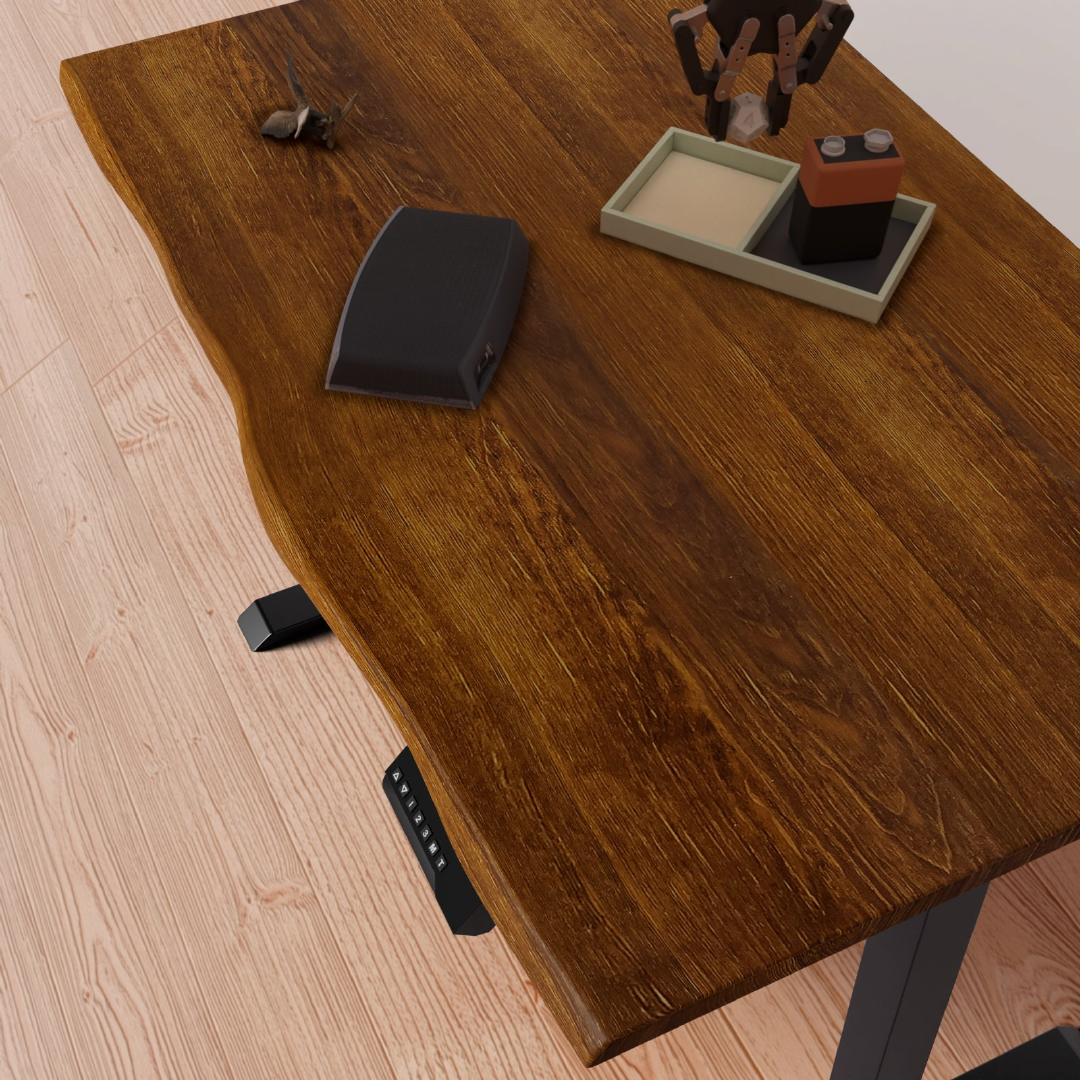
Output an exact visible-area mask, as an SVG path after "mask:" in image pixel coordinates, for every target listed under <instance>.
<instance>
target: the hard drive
mask: <svg viewBox="0 0 1080 1080" xmlns="http://www.w3.org/2000/svg"><path fill="white" fill-rule="evenodd" d="M529 258H530V243H529V241H528V239H527V236H526V234H525V233H524V231H523V229H522V228H521V226H520V224H519V223H518V222H517V220H516V219H515V218H512V217H499V216H490V215H481V214H480V215H479V214H471V213H463V212H454V211H445V210H438V209H429V208H418V207H411V206H406V205H405V206H404V205H399V206H398V207H397V208H396V209H395V210H394V212H393V213H392V214H391V215H390V216H389V218H388V219H387V221H386V222H385V223H384V224H383V226H382V227H381V229H380V230H379V232H378V233H377V235H376V236H375V238H374V240H373V242H372V243H371V244H370V246H369V248H368V250H367V252H366V253H365V256H364V258H363V259H362V261H361V264H360V266H359V267H358V270H357V271H356V274H355V277H354V279H353V282H352V284H351V286H350V289H349V292H348V294H347V297H346V301H345V303H344V306H343V310H342V313H341V315H340V319H339V323H338V326H337V331H336V334H335V337H334V342H333V346H332V350H331V354H330V359H329V363H328V364H329V365H328V367H327V373H326V379H325V385H324V390H327V391H333V392H339V393H340V392H341V393H348V394H355V395H362V396H369V397H376V398H377V397H378V398H385V399H391V400H398V401H407V402H414V403H420V404H426V405H427V404H429V405H436V406H443V407H451V408H459V409H465V410H472V411H476V410H477V408H478V406H480V404H481V402H482V401H483V398H484V397H485V395H486V393H487V391H488V390H489V389H488V388H489V387H490V385H491V382H492V380H493V378H494V375H495V373H496V371H497V369H498V367H499V364H500V362H501V360H502V357H503V355H504V352H505V349H506V346H507V345H508V341H509V338H510V336H511V333H512V330H513V327H514V324H515V320H516V317H517V314H518V310H519V306H520V303H521V299H522V294H523V292H524V287H525V283H526V282H525V281H526V278H527V271H528V265H529Z"/></svg>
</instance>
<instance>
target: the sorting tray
mask: <svg viewBox="0 0 1080 1080" xmlns="http://www.w3.org/2000/svg"><path fill="white" fill-rule="evenodd" d="M800 166H801V163H798V162H794V161H791V160H787V159H784V158H781V157H777V156H774V155H770V154H767V153H763V152H760V151H756V150H754V149H750V148H747V147H743V146H740V145H736V144H733V143H730V142H726V141H722V142H716V141H715V139H714V137H708V136H706V135H702V134H700V133H695V132H692V131H688V130H685V129H682V128H678V127H676V126H670V127H669V128H668V129H667V130H666V131H665V132H664V133H663V135H662V136H661V137H660V139H658V141H657V142H656V144H655V145H654V146H653V147H652V148H651V149H650V151H649V152H648V153H647V154H646V156H645V157H644V158H643V159H642V160H641V161H640V163H639V164H638V165H637V166H636V167H635V169H634V170H633V171H632V172H631V173H630V175H629V176H628V177H627V178H626V179H625V181H624V182H623V183H622V184H621V185H620V187H619V188H618V189H617V190H616V192H614V194H613V195H612V196H611V197H610V198H609V200H608V201H607V202H606V203H605V205H604V206H603V207H602V208H601V209H600V222H599V223H600V224H599V227H600V228H599V233H600V234H604V235H607V236H609V237H613V238H615V239H619V240H622V241H625V242H628V243H631V244H634V245H637V246H640V247H642V248H646V249H649V250H652V251H655V252H658V253H661V254H663V255H667V256H669V257H673V258H676V259H679V260H682V261H685V262H688V263H692V264H694V265H697V266H700V267H703V268H706V269H709V270H712V271H715V272H718V273H721V274H724V275H727V276H729V277H733V278H735V279H739V280H743V281H745V282H748V283H751V284H754V285H757V286H760V287H763V288H765V289H769V290H772V291H775V292H778V293H780V294H784V295H787V296H790V297H793V298H796V299H799V300H803V301H805V302H809V303H810V304H811V303H812V304H814V305H817V306H820V307H823V308H826V309H829V310H832V311H835V312H838V313H841V314H845V315H847V316H851V317H853V318H856V319H859V320H861V321H862V320H863V321H865V322H868V323H871V324H874V325H877V324H878V322H879V320H880V318H881V316H882V314H883V313H884V311H885V310H886V307H887V305H888V304H889V302H890V300H891V298H892V297H893V295H894V293H895V291H896V289H897V287H898V286H899V284H900V282H901V280H902V279H903V277H904V275H905V273H906V271H907V270H908V267H909V266H910V264H911V263H912V260H913V258H914V257H915V255H916V253H917V252H918V250H919V248H920V246H921V244H922V242H923V240H924V239H925V237H926V235H927V233H928V231H929V230H930V228H931V226H932V222H933V218H934V215H935V213H936V209H937V204H936V203H933V202H930V201H927V200H924V199H919V198H915V197H913V196H909V195H905V194H903V193H900V192H898V193H897V196H896V200H895V204H894V207H893V211H892V215H891V219H890V222H889V226H888V230H887V233H886V237H885V241H884V244H883V248H882V251H881V254H880V255H879V256H877V257H870V258H860V259H850V260H839V261H828V262H818V263H807V264H804V263H801V262H800V260H799V258H798V256H797V253H796V251H795V248H794V246H793V244H792V241H791V239H790V236H789V234H788V230H789V224H790V219H791V213H792V208H793V203H794V198H795V192H796V187H797V182H798V176H799V171H800Z"/></svg>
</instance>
